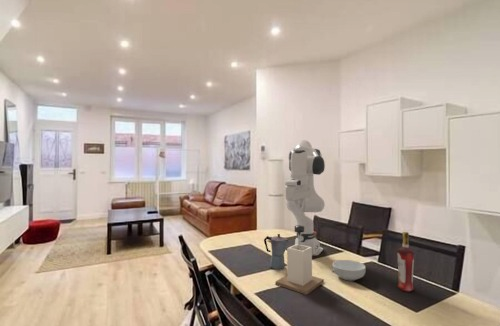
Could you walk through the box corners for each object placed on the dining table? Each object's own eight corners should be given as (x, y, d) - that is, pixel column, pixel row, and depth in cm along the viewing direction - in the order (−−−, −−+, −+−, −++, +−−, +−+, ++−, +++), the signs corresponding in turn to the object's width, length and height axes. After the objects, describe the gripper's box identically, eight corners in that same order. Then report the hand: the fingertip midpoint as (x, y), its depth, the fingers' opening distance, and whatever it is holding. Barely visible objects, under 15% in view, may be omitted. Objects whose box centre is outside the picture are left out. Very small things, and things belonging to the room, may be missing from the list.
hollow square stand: (293, 273, 161) (293, 240, 161) (323, 282, 149) (323, 246, 149) (275, 284, 147) (275, 248, 147) (306, 294, 136) (306, 255, 135)
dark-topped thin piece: (297, 255, 153) (297, 224, 153) (308, 258, 149) (307, 226, 148) (291, 259, 148) (290, 226, 148) (301, 261, 144) (301, 228, 144)
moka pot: (289, 271, 165) (288, 236, 164) (262, 269, 168) (262, 235, 167) (290, 265, 174) (289, 232, 174) (265, 263, 177) (264, 231, 177)
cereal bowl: (364, 273, 160) (364, 261, 160) (366, 286, 144) (366, 272, 144) (333, 270, 166) (333, 258, 166) (331, 281, 150) (331, 268, 150)
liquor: (394, 286, 144) (394, 230, 144) (409, 286, 144) (409, 230, 143) (401, 293, 136) (401, 234, 136) (417, 293, 136) (417, 234, 136)
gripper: (303, 179, 158) (303, 204, 158) (283, 182, 142) (283, 209, 142) (314, 180, 154) (314, 205, 154) (294, 182, 138) (294, 211, 138)
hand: (299, 207), depth 148 cm, fingers closed
